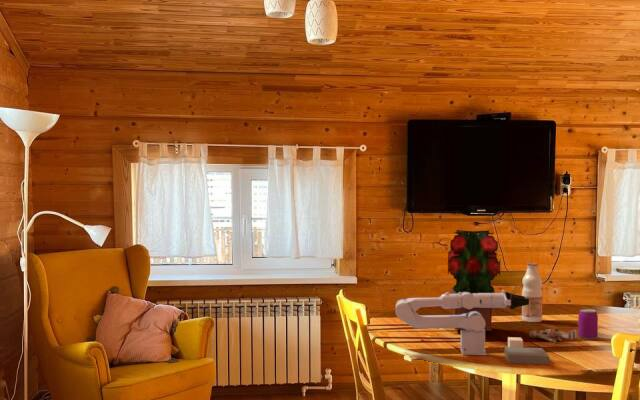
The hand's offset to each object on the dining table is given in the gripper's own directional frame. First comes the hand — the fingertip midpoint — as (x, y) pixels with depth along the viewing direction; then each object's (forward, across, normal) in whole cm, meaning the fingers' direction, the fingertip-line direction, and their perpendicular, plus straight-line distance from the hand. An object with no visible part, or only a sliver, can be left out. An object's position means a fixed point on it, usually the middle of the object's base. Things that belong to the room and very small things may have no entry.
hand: (526, 300), depth 248 cm
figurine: (+14, +25, +21) cm, 35 cm away
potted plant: (-16, +40, +19) cm, 47 cm away
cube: (-4, +6, +21) cm, 22 cm away
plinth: (-2, -6, +22) cm, 22 cm away
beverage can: (+32, +32, +20) cm, 50 cm away
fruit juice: (+15, +66, +18) cm, 70 cm away
